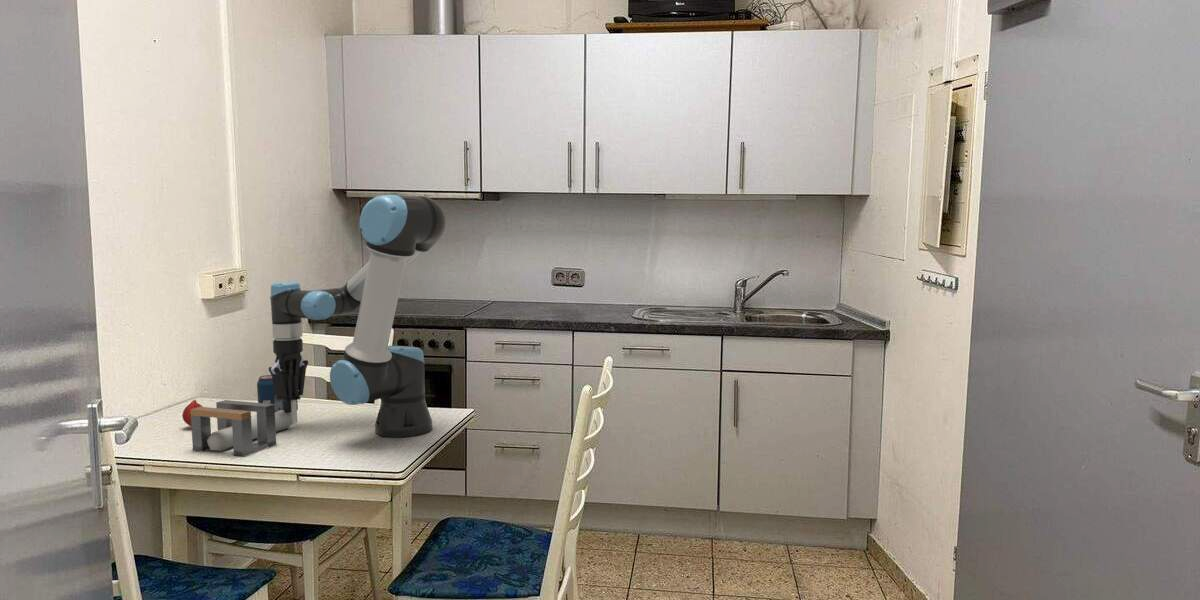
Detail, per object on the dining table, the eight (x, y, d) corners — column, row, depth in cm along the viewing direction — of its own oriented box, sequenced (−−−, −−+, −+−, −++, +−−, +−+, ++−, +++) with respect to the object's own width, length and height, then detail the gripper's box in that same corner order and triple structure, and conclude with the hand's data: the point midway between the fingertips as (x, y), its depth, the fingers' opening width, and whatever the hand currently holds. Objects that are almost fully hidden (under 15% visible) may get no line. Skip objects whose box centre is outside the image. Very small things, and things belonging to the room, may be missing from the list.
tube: (221, 438, 193) (293, 414, 217) (204, 429, 195) (278, 406, 218) (217, 457, 194) (289, 431, 218) (200, 449, 196) (274, 424, 219)
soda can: (263, 414, 235) (261, 374, 234) (287, 413, 235) (285, 374, 234) (254, 420, 228) (252, 379, 227) (279, 419, 228) (277, 378, 227)
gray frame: (276, 444, 202) (274, 404, 201) (243, 456, 191) (241, 414, 190) (227, 439, 207) (225, 399, 206) (192, 450, 197) (190, 409, 196)
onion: (180, 431, 216) (178, 402, 215) (187, 426, 222) (185, 397, 221) (203, 430, 217) (201, 401, 216) (209, 424, 223) (207, 396, 222)
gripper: (293, 334, 223) (297, 416, 225) (258, 341, 211) (263, 427, 213) (315, 335, 221) (318, 418, 223) (281, 342, 208) (285, 430, 211)
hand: (291, 423), depth 218 cm, fingers closed
